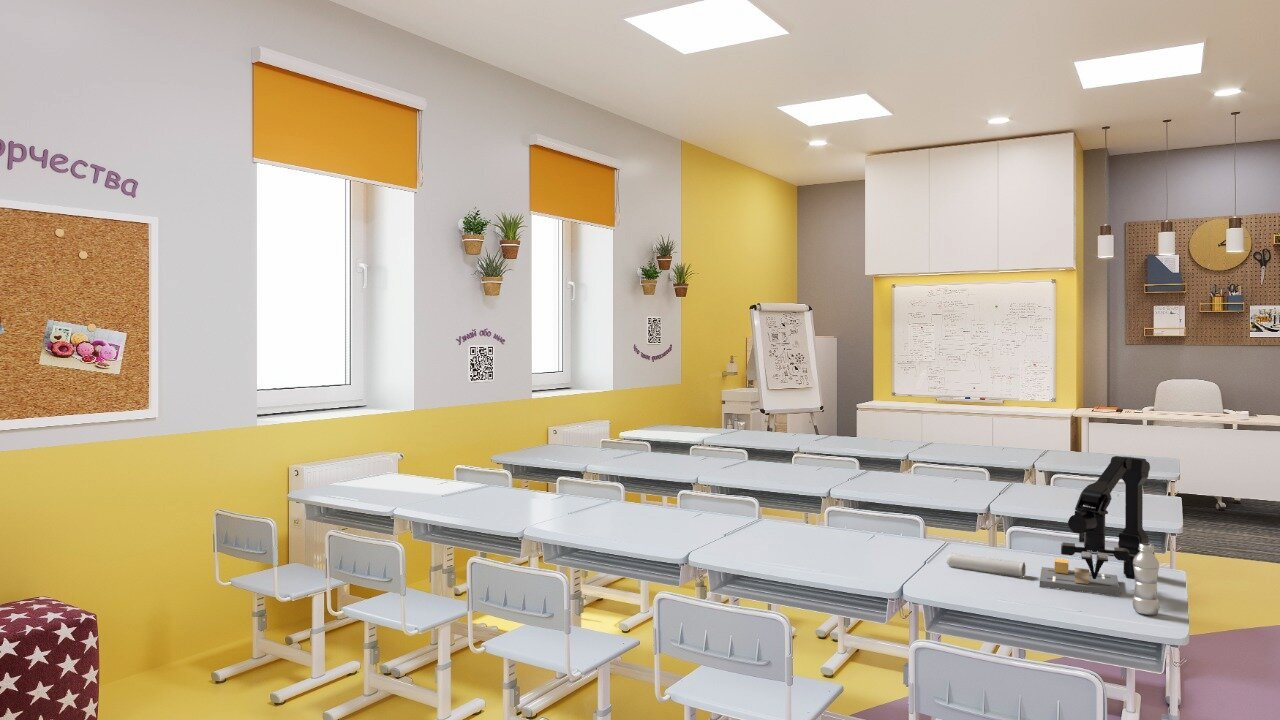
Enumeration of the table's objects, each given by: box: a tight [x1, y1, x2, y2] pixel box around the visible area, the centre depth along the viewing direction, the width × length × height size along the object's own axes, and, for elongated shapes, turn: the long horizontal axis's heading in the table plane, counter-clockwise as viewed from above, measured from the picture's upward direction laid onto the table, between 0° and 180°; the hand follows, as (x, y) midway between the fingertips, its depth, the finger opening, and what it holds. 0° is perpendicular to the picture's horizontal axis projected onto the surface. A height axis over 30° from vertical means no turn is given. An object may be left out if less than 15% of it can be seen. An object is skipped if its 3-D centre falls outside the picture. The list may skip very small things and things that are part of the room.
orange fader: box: [1054, 557, 1069, 574], centre depth 275 cm, size 4×5×4 cm
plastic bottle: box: [1132, 543, 1161, 616], centre depth 239 cm, size 6×7×20 cm
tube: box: [946, 552, 1027, 579], centre depth 283 cm, size 5×5×25 cm
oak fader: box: [1074, 567, 1090, 584], centre depth 263 cm, size 4×5×4 cm
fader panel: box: [1039, 566, 1120, 597], centre depth 268 cm, size 22×18×2 cm
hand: (1094, 578), depth 262 cm, fingers closed
